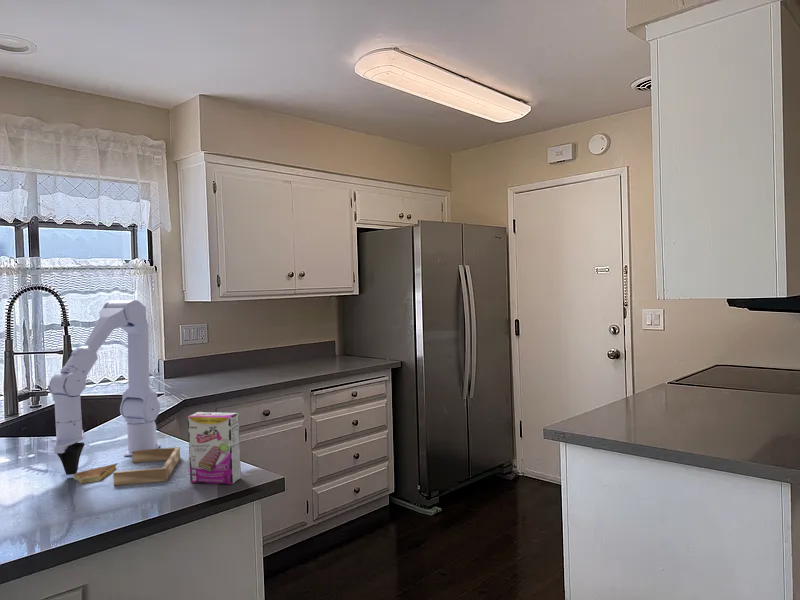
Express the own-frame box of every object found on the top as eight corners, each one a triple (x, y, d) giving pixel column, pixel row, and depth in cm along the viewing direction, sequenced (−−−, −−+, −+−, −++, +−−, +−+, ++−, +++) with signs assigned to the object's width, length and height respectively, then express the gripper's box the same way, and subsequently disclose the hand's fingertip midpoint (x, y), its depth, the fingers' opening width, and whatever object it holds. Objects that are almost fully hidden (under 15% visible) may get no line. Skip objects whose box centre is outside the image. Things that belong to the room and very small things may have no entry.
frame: (133, 461, 161) (133, 450, 161) (180, 457, 163) (179, 446, 163) (113, 485, 142) (113, 473, 142) (166, 480, 145) (166, 468, 145)
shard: (117, 468, 156) (117, 461, 156) (129, 474, 151) (128, 467, 151) (72, 479, 149) (72, 472, 149) (83, 486, 143) (82, 478, 143)
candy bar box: (189, 484, 142) (186, 416, 141) (199, 476, 147) (196, 411, 146) (233, 485, 140) (230, 416, 139) (242, 478, 145) (239, 411, 144)
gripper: (62, 414, 155) (64, 466, 156) (39, 428, 141) (42, 484, 142) (91, 413, 157) (93, 463, 157) (71, 426, 142) (74, 482, 143)
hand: (71, 473), depth 149 cm, fingers closed
